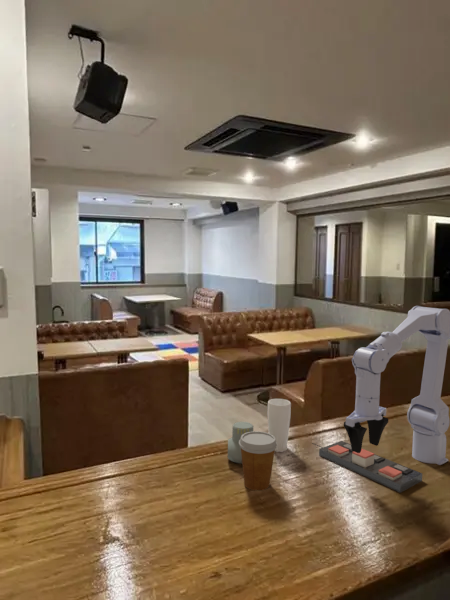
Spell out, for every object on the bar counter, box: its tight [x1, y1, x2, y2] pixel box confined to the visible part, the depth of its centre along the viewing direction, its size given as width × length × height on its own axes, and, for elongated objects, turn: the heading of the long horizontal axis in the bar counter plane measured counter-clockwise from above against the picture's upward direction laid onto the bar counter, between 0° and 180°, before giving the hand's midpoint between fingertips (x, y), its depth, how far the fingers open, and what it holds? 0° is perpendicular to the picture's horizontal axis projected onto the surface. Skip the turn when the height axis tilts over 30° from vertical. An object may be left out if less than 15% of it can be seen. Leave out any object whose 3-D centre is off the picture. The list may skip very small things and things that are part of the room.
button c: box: [378, 466, 402, 481], centre depth 109 cm, size 4×4×3 cm
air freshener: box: [227, 421, 254, 465], centre depth 123 cm, size 11×8×10 cm
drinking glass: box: [267, 398, 292, 453], centre depth 128 cm, size 7×7×15 cm
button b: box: [352, 448, 375, 468], centre depth 116 cm, size 4×4×3 cm
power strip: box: [311, 440, 423, 494], centre depth 120 cm, size 10×32×4 cm, turn 37°
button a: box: [328, 445, 349, 457], centre depth 122 cm, size 4×4×3 cm
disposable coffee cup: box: [239, 430, 277, 491], centre depth 109 cm, size 10×10×12 cm
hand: (365, 447), depth 111 cm, fingers open, 7 cm apart
